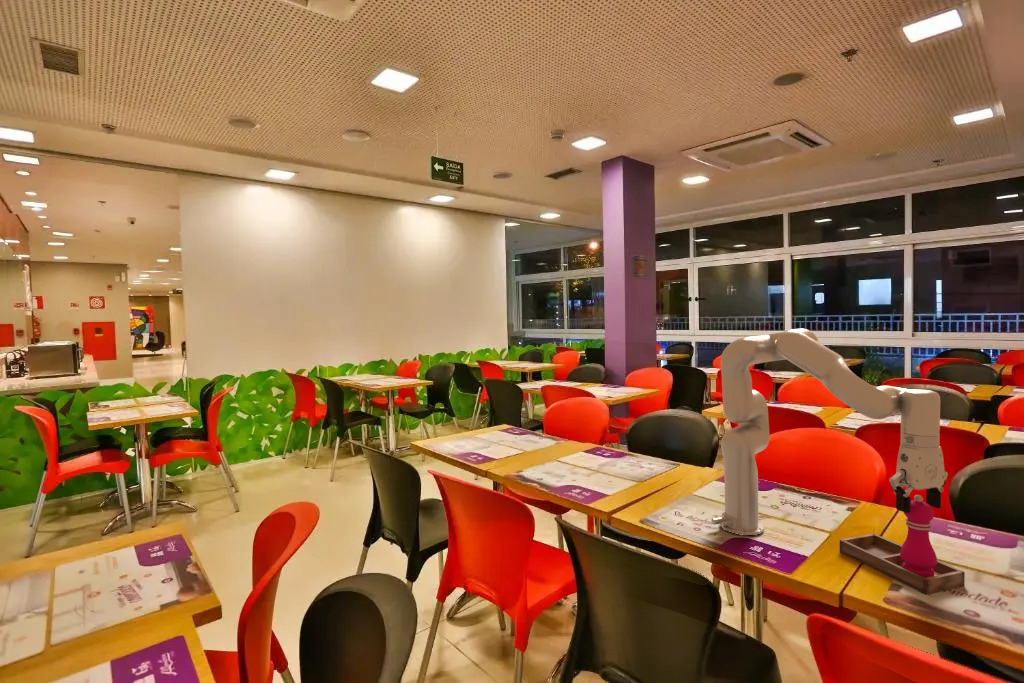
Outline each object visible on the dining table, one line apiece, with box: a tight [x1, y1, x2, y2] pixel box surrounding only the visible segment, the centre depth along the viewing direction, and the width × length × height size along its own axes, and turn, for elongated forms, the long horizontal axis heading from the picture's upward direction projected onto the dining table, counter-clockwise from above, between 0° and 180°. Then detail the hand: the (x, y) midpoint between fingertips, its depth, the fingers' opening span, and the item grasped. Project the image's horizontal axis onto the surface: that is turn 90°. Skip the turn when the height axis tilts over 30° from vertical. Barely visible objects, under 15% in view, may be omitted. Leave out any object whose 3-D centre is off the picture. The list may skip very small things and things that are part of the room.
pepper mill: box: [900, 494, 938, 578], centre depth 129 cm, size 7×7×20 cm
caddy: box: [839, 533, 966, 596], centre depth 135 cm, size 12×23×4 cm, turn 15°
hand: (918, 508), depth 129 cm, fingers open, 9 cm apart
